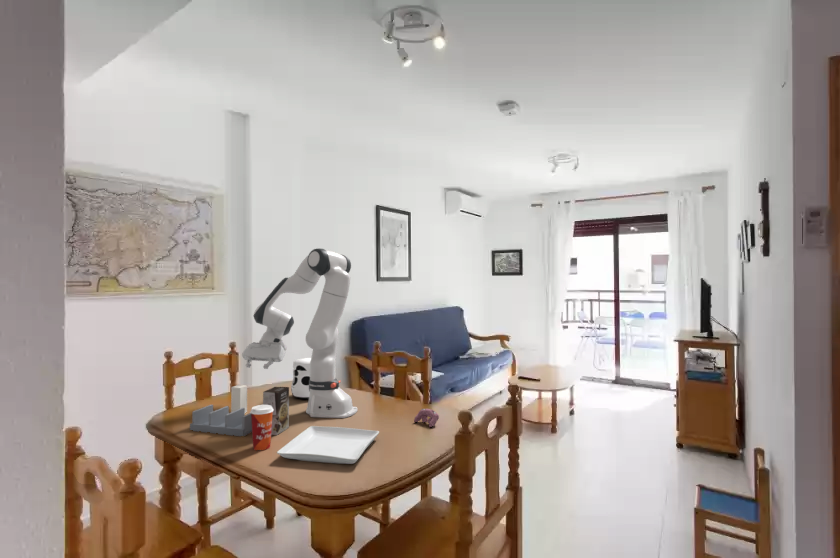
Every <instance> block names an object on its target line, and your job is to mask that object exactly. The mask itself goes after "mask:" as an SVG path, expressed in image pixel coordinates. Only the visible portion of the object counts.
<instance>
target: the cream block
mask: <svg viewBox="0 0 840 558" xmlns="http://www.w3.org/2000/svg"><path fill="white" fill-rule="evenodd" d="M230 389H231V393H230V394H231V397H230V398H231V400H230V401H231V403H230V404H231V405H230V406H231V407H230V408H231V409H230V411H231V412H233V411H236V410H238V409H240V408H245V413H246V412H247V413H248V385H245V384H237V385H234V386H231V388H230ZM231 412H230V413H231ZM247 413H246V414H247Z"/></svg>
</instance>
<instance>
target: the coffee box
mask: <svg viewBox="0 0 840 558" xmlns="http://www.w3.org/2000/svg"><path fill="white" fill-rule="evenodd" d="M262 394H263V395H262V405H271V406H272V408H273V409H274V411H273V414H272V430H271V436H278V435H279V434H281V433H283V432H284V431H286V430H287V429H289V427H290V426H289V425H290V424H289V423H290V387H289V386H274V387H271V388H269V389H267V390H264V391H262Z"/></svg>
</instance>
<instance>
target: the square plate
mask: <svg viewBox="0 0 840 558" xmlns="http://www.w3.org/2000/svg"><path fill="white" fill-rule="evenodd" d="M379 433H380V431H379V430H371V429H362V428H361V429H360V428H352V427H344V426H342V427H341V426H340V427H339V426H319V425H311V426H308V428H306V429H304V430H303V431H302V432H300V433H299V434H298V435H297V436H295V437H294V438H293V439H291V440H290V441H289V442H287V443H286V444H285V445H284V446H282V447H281V448H280V449H279V450H277V452H276V454H277V455H279V456H281V457H283V458H285V459H288V460H289V459H291V460H298V461H305V462H317V463H329V464H337V465H338V464H340V465H341V464H347V465H349V464H351V465H352V464H355V463H356V462H357V461H358V460H359V459H360V457H361V456H362V454H363V453H364V452H365V450H366V449H367V448H368V447H369V446H370V445H371V444H372V443H373V441H374V440H375V439H376V438H377V437H378V436H379Z"/></svg>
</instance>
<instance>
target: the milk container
mask: <svg viewBox="0 0 840 558" xmlns="http://www.w3.org/2000/svg"><path fill="white" fill-rule="evenodd" d="M310 361H311V357H304V358H298V359H294V361H293V365H292V368H293V369H292V376H293V377H292V382H291V385H290V386H291V387H290V392H291V395H292V396H293V397H294V398H296V399H302V400H306V399H307V400H309V393H310V392H309V380H310Z"/></svg>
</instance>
